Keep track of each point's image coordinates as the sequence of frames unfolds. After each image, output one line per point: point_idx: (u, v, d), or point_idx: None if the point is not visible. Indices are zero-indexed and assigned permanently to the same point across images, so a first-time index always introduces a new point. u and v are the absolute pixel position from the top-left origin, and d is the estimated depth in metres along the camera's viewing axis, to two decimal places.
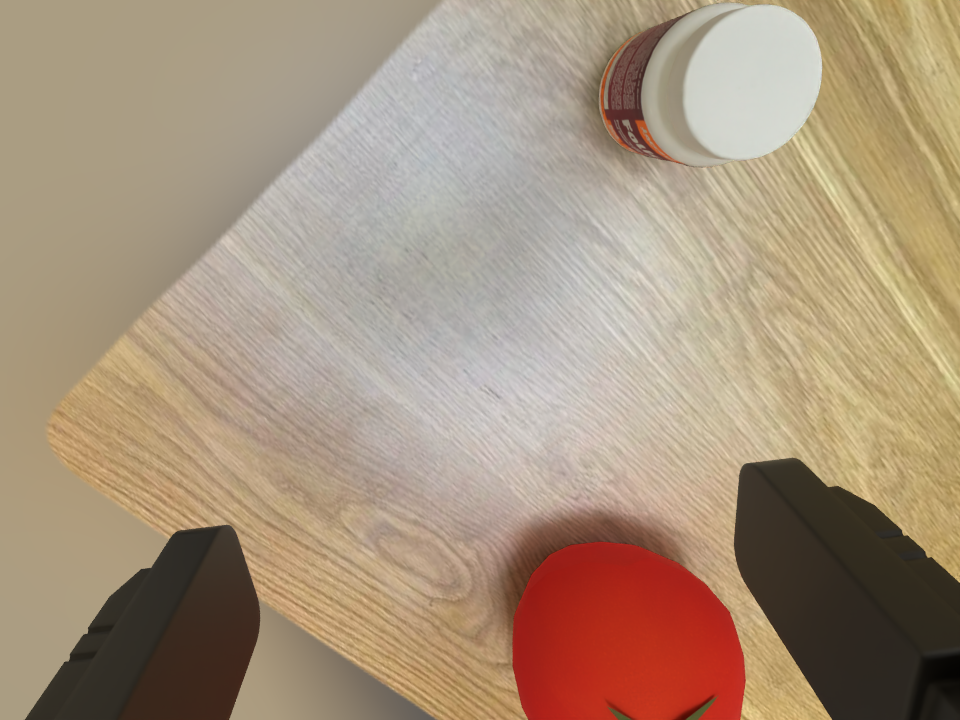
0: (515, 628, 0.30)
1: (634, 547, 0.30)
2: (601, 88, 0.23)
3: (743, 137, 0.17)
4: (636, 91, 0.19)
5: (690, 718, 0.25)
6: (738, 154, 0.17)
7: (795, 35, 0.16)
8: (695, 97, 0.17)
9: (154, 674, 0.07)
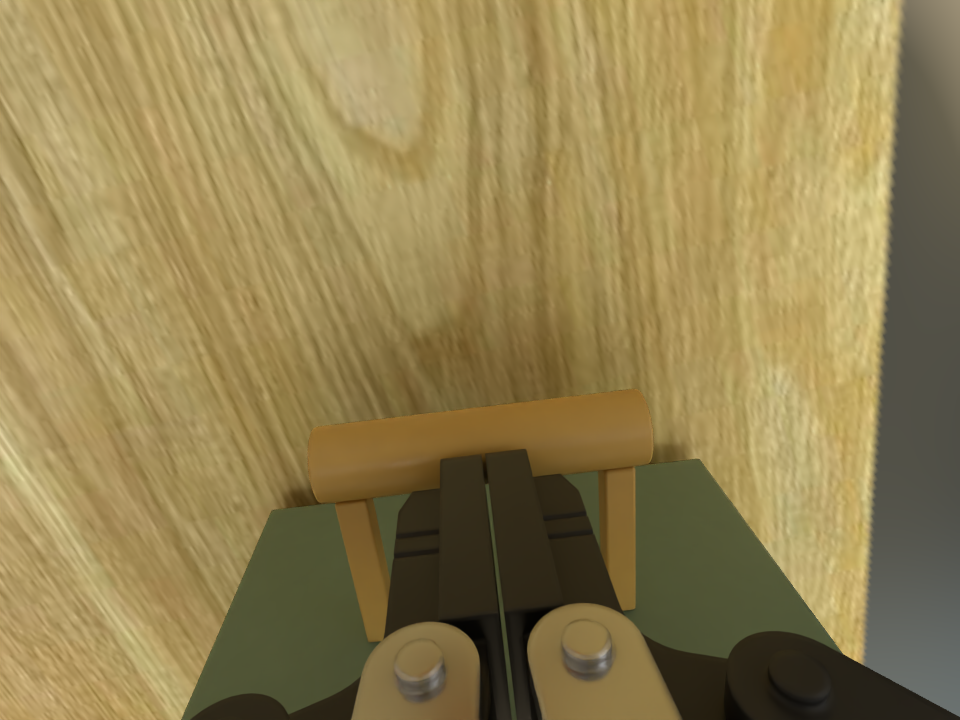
0: None
1: None
2: None
3: None
4: None
5: None
6: None
7: None
8: None
9: (493, 562, 0.08)
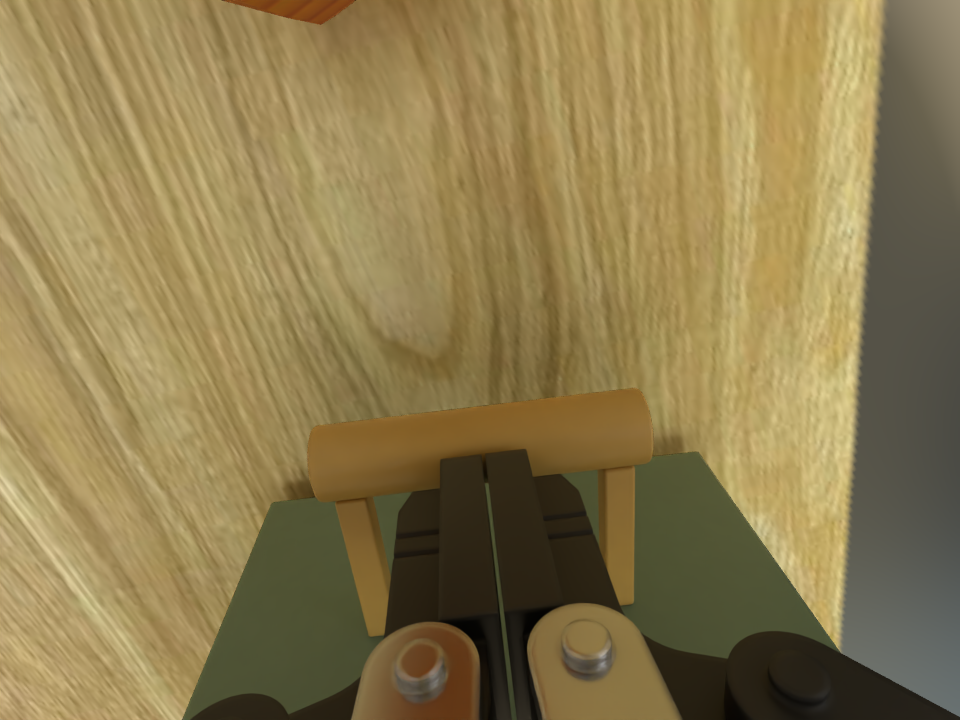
0: None
1: None
2: None
3: None
4: None
5: None
6: None
7: None
8: None
9: (493, 562, 0.08)
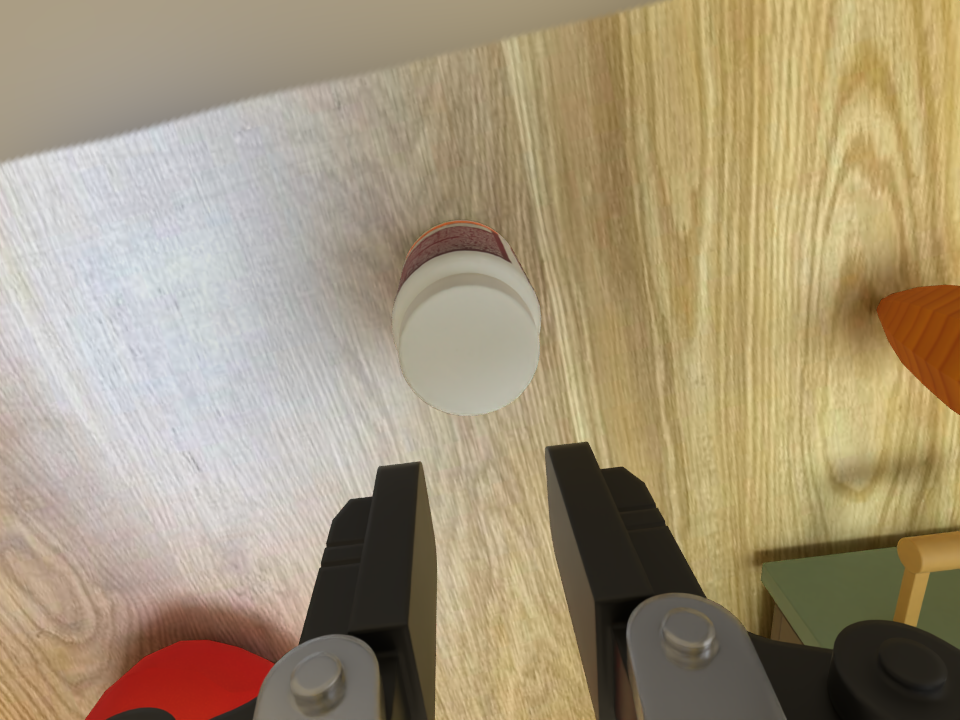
0: (95, 707, 0.27)
1: (264, 669, 0.29)
2: (410, 249, 0.23)
3: (446, 392, 0.17)
4: (400, 287, 0.19)
5: None
6: (436, 403, 0.17)
7: (521, 332, 0.16)
8: (413, 338, 0.16)
9: (414, 572, 0.08)
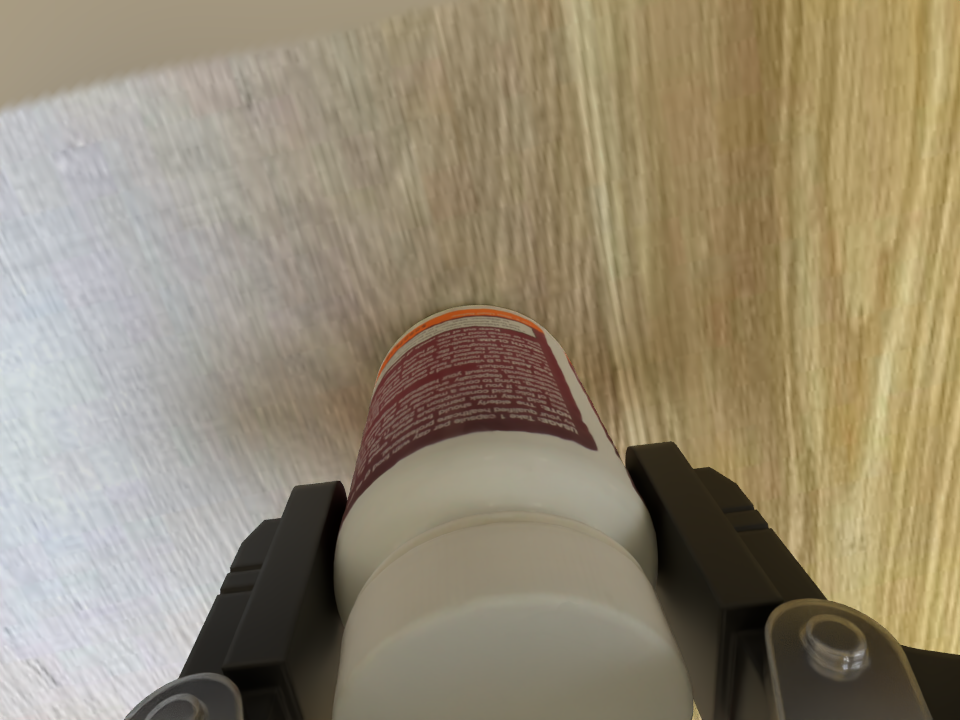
0: None
1: None
2: (387, 357, 0.13)
3: None
4: (353, 490, 0.09)
5: None
6: None
7: (652, 690, 0.06)
8: (368, 713, 0.06)
9: (309, 601, 0.07)
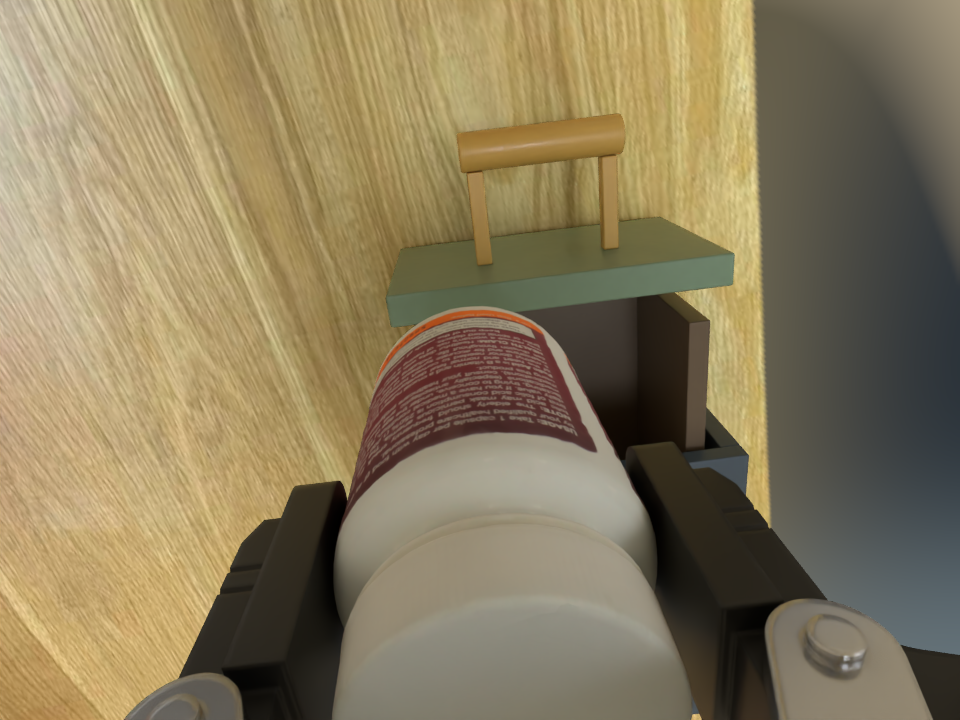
0: None
1: None
2: (386, 358, 0.13)
3: None
4: (354, 492, 0.09)
5: None
6: None
7: (651, 692, 0.06)
8: (368, 714, 0.06)
9: (308, 601, 0.07)
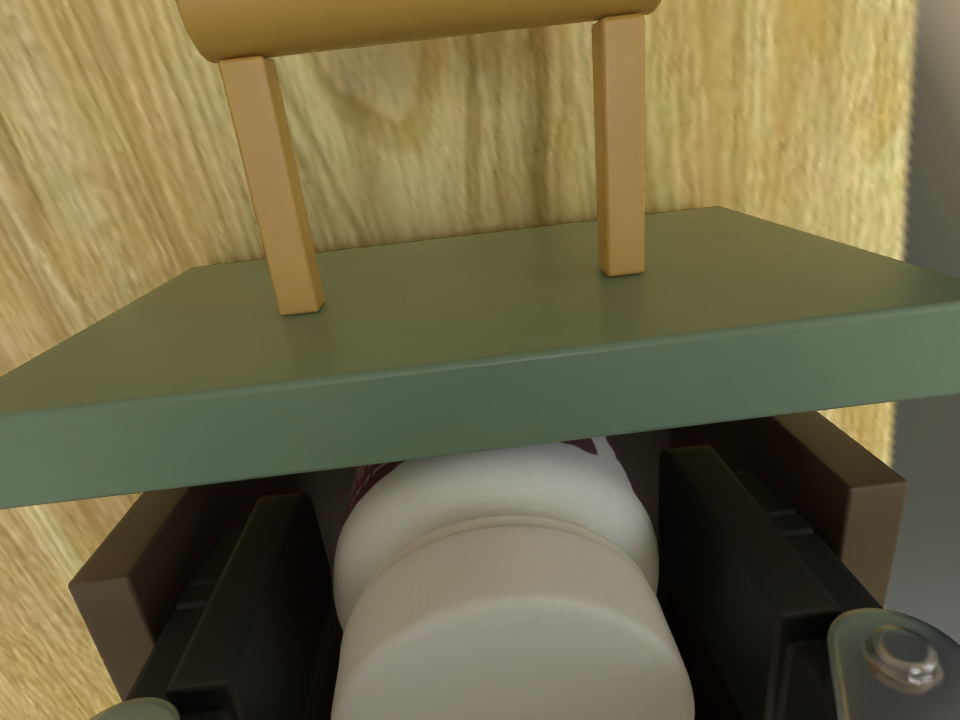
0: None
1: None
2: None
3: None
4: (353, 495, 0.09)
5: None
6: None
7: (653, 695, 0.06)
8: (367, 717, 0.06)
9: (263, 619, 0.07)
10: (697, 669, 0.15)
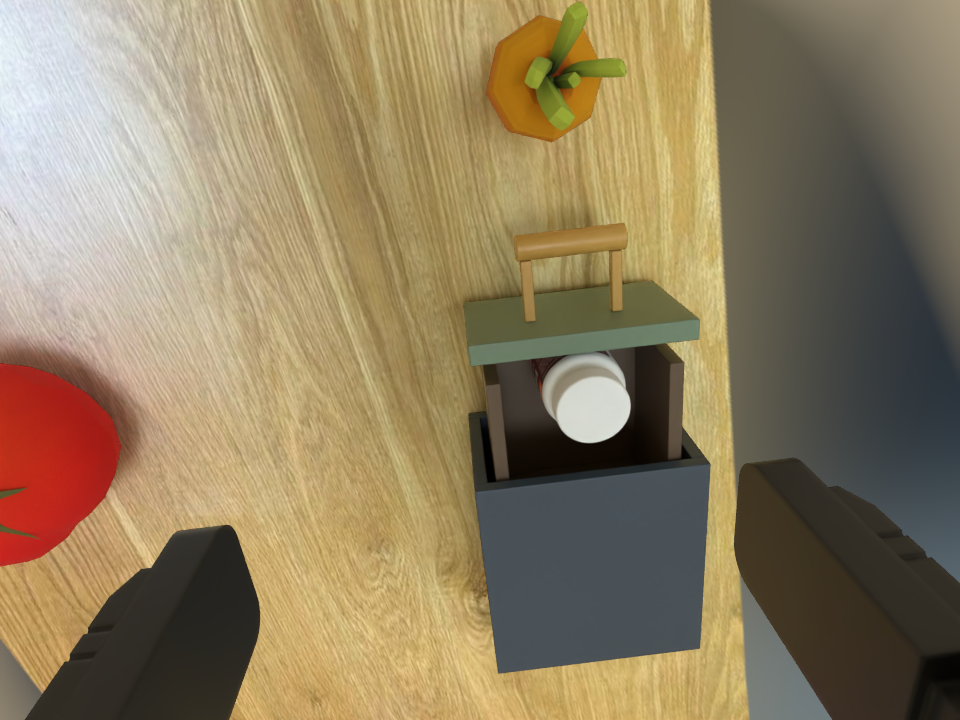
0: None
1: (73, 387, 0.37)
2: None
3: (579, 430, 0.32)
4: (546, 369, 0.33)
5: None
6: (573, 436, 0.32)
7: (621, 399, 0.31)
8: (565, 402, 0.31)
9: (154, 674, 0.07)
10: (644, 452, 0.40)
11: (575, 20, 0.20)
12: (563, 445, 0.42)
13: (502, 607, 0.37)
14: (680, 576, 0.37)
